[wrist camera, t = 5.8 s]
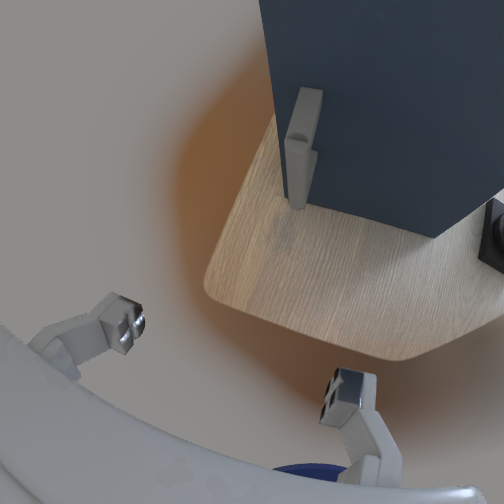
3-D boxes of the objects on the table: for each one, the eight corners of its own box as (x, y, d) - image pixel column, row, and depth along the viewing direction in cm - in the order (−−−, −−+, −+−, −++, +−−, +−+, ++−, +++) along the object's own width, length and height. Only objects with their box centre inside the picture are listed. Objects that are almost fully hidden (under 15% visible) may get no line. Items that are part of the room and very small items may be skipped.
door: (428, 279, 35) (644, 168, 2) (273, 237, 39) (195, -26, 6) (434, 232, 36) (604, 76, 3) (286, 191, 40) (252, -68, 8)
